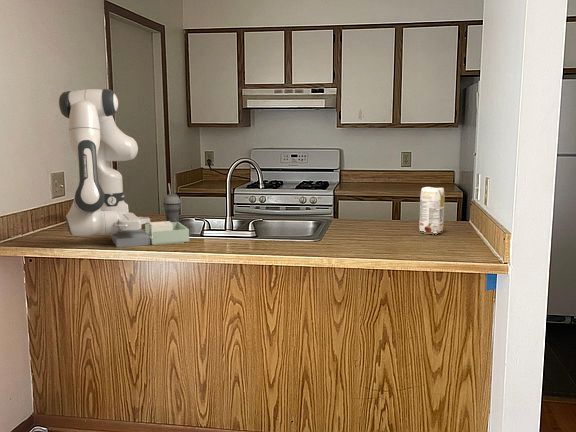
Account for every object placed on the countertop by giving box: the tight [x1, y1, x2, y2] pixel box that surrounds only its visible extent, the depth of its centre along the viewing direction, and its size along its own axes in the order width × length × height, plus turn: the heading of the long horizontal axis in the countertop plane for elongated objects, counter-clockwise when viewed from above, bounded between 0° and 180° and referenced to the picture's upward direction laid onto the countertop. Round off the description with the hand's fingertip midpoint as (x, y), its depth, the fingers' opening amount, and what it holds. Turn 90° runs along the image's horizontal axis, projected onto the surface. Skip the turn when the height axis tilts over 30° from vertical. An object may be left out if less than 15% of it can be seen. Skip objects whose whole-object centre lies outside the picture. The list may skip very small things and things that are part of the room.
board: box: [111, 229, 151, 248], centre depth 224 cm, size 16×12×3 cm
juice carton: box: [418, 186, 445, 233], centre depth 240 cm, size 8×9×19 cm
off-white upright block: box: [148, 220, 173, 238], centre depth 228 cm, size 6×6×8 cm
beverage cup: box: [162, 183, 182, 223], centre depth 247 cm, size 7×7×20 cm
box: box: [144, 221, 190, 246], centre depth 229 cm, size 18×14×5 cm
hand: (149, 220), depth 226 cm, fingers closed
